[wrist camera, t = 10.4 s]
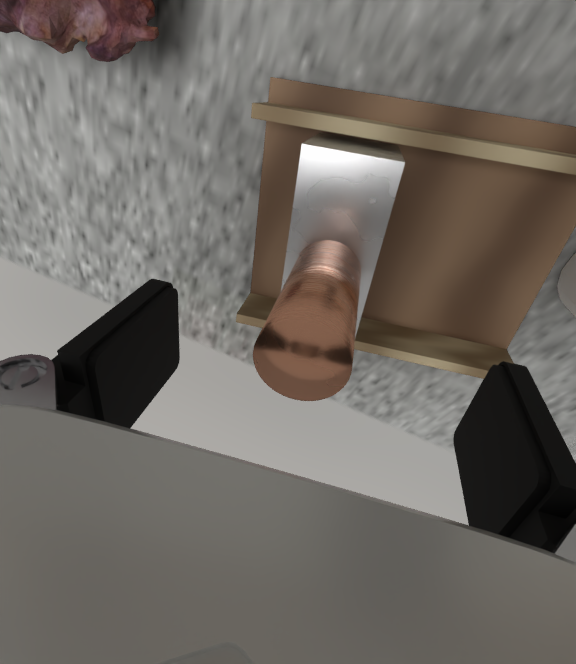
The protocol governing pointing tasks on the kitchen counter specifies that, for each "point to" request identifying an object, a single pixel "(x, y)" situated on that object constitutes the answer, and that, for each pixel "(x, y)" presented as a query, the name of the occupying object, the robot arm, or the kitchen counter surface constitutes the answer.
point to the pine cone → (82, 24)
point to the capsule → (568, 285)
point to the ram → (328, 264)
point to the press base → (429, 219)
